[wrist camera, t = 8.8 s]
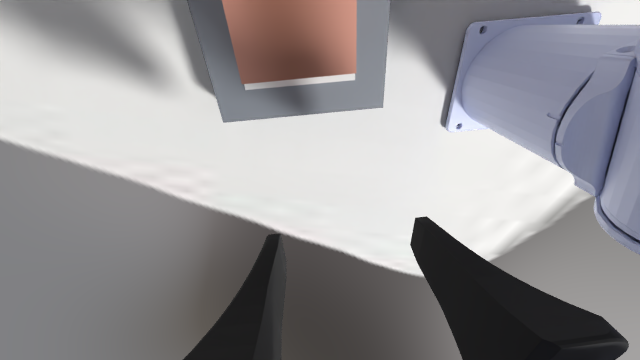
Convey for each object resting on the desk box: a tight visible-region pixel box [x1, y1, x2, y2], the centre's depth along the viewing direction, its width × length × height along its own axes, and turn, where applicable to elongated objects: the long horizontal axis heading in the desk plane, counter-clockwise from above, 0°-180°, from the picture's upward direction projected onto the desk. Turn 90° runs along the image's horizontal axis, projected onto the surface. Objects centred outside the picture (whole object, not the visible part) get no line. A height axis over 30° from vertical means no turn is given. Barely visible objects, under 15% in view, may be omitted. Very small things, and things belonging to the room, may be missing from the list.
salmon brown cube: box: [222, 0, 357, 84], centre depth 11 cm, size 5×5×5 cm
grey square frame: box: [187, 0, 390, 123], centre depth 15 cm, size 11×11×3 cm
